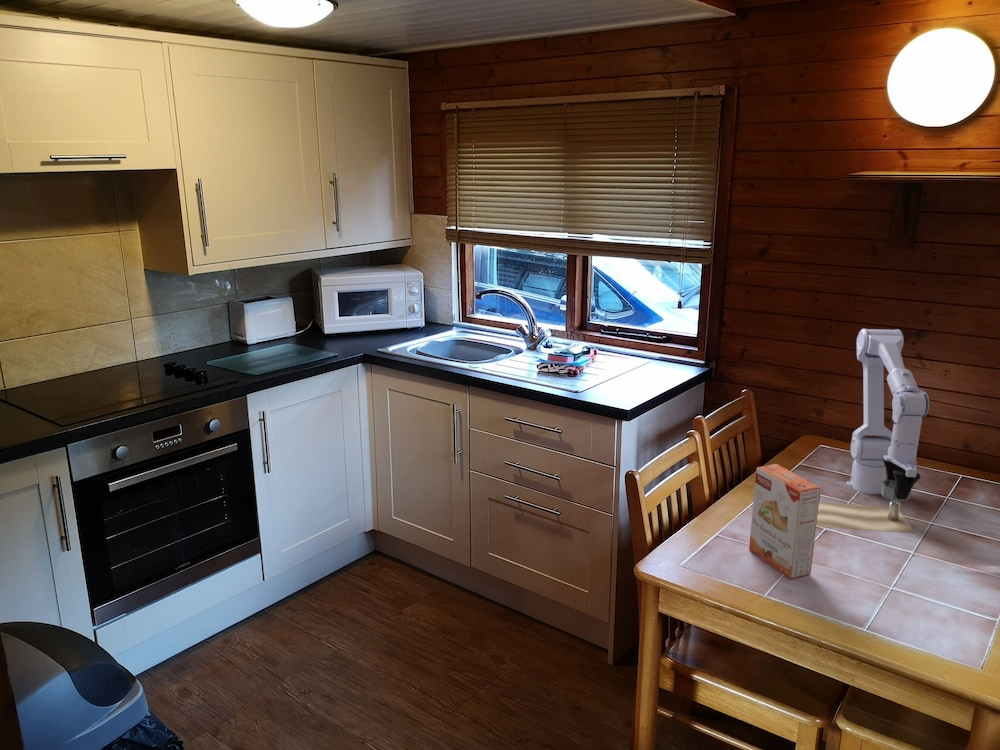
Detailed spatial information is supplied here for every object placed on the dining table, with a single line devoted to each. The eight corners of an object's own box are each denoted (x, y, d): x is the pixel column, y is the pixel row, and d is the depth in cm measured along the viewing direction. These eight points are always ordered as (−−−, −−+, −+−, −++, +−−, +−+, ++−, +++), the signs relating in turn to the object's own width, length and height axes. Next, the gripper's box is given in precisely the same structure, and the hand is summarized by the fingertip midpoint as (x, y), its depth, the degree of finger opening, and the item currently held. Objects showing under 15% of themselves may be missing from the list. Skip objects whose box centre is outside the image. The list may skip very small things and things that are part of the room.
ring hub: (878, 489, 192) (879, 478, 191) (904, 491, 191) (905, 480, 190) (885, 500, 186) (887, 488, 185) (912, 501, 185) (914, 490, 184)
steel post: (886, 516, 192) (888, 500, 190) (896, 517, 191) (899, 500, 190) (889, 521, 189) (892, 505, 188) (900, 522, 188) (902, 505, 187)
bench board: (805, 505, 200) (805, 501, 200) (896, 511, 197) (896, 507, 196) (817, 530, 187) (818, 526, 187) (915, 537, 183) (915, 533, 183)
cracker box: (747, 550, 178) (755, 466, 172) (768, 545, 180) (777, 462, 174) (788, 580, 165) (799, 490, 160) (811, 575, 167) (822, 486, 162)
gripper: (877, 429, 192) (870, 479, 196) (896, 450, 178) (888, 504, 182) (908, 430, 191) (900, 481, 195) (929, 452, 177) (920, 506, 181)
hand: (896, 492), depth 188 cm, fingers closed on ring hub, 6 cm apart
